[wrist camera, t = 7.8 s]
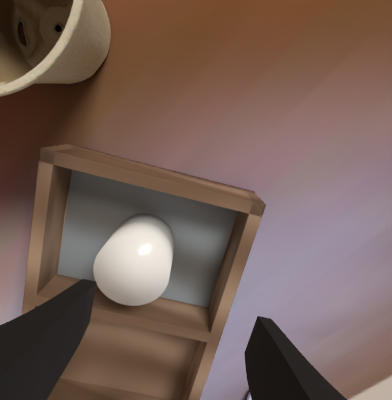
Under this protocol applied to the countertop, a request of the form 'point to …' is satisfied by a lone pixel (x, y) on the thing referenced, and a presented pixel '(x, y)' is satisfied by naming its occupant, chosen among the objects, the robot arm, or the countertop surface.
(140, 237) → the white rounded egg-shaped piece
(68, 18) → the flower pot
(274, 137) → the countertop surface
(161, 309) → the bin
